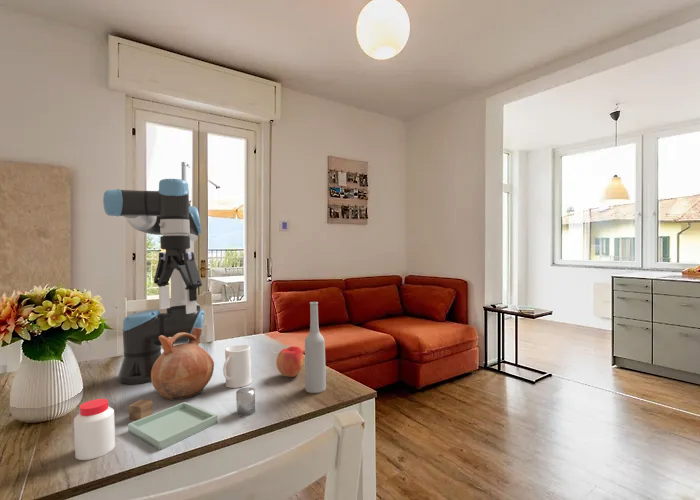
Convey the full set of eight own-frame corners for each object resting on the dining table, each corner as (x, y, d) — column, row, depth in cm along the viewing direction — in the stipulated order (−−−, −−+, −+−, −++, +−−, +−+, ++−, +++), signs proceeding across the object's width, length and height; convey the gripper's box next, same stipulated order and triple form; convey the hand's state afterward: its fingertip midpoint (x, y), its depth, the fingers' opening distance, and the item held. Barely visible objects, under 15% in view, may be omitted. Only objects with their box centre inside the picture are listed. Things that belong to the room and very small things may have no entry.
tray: (128, 431, 94) (128, 423, 94) (185, 408, 107) (184, 401, 107) (159, 450, 86) (159, 441, 85) (217, 422, 98) (217, 415, 98)
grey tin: (233, 413, 104) (232, 392, 103) (247, 406, 108) (246, 386, 107) (244, 417, 101) (244, 396, 100) (259, 410, 105) (258, 389, 105)
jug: (173, 410, 106) (171, 341, 106) (139, 397, 116) (137, 333, 115) (226, 388, 122) (224, 327, 121) (191, 378, 131) (190, 321, 131)
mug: (233, 393, 117) (232, 355, 117) (212, 389, 120) (211, 353, 120) (256, 380, 128) (256, 345, 127) (237, 377, 131) (236, 343, 131)
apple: (290, 369, 138) (290, 342, 138) (309, 374, 132) (309, 346, 132) (271, 377, 130) (270, 349, 130) (290, 383, 125) (290, 353, 124)
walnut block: (129, 420, 101) (128, 405, 101) (141, 413, 105) (140, 399, 104) (141, 421, 100) (140, 407, 100) (152, 415, 103) (152, 400, 103)
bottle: (317, 394, 115) (315, 304, 114) (301, 390, 118) (299, 303, 118) (330, 387, 120) (328, 301, 120) (314, 383, 124) (312, 300, 123)
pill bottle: (67, 456, 84) (65, 408, 84) (101, 439, 91) (99, 394, 91) (89, 463, 81) (87, 413, 81) (123, 445, 88) (121, 399, 88)
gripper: (139, 236, 108) (141, 308, 108) (188, 233, 94) (190, 317, 94) (164, 236, 114) (166, 304, 114) (214, 234, 100) (216, 312, 100)
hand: (177, 310), depth 104 cm, fingers open, 13 cm apart
